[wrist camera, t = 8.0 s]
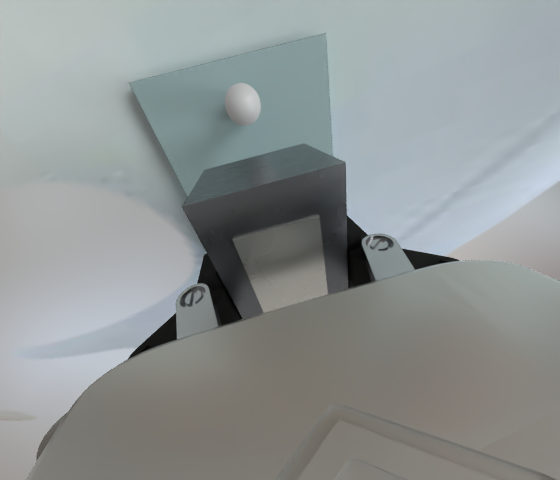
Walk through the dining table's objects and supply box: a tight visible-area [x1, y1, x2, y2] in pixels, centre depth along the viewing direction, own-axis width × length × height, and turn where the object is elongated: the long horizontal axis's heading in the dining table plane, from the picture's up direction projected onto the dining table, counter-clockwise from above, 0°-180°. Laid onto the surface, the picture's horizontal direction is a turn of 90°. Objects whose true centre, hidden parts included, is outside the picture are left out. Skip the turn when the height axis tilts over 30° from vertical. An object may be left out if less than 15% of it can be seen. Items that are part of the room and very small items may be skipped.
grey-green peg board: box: [129, 33, 333, 197], centre depth 15 cm, size 12×18×6 cm, turn 13°
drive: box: [182, 143, 348, 319], centre depth 10 cm, size 5×9×5 cm, turn 13°
